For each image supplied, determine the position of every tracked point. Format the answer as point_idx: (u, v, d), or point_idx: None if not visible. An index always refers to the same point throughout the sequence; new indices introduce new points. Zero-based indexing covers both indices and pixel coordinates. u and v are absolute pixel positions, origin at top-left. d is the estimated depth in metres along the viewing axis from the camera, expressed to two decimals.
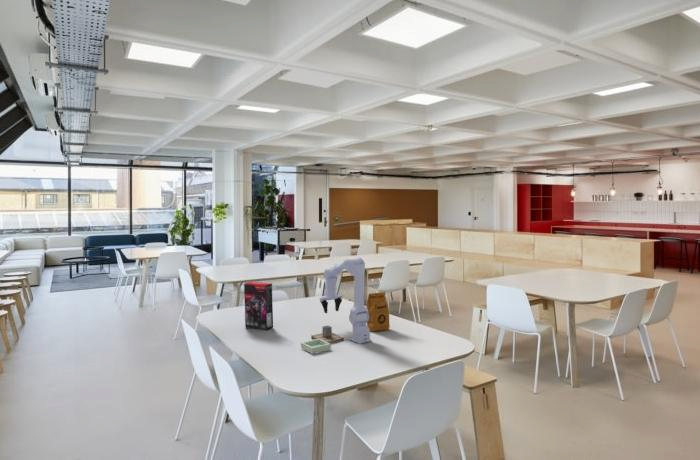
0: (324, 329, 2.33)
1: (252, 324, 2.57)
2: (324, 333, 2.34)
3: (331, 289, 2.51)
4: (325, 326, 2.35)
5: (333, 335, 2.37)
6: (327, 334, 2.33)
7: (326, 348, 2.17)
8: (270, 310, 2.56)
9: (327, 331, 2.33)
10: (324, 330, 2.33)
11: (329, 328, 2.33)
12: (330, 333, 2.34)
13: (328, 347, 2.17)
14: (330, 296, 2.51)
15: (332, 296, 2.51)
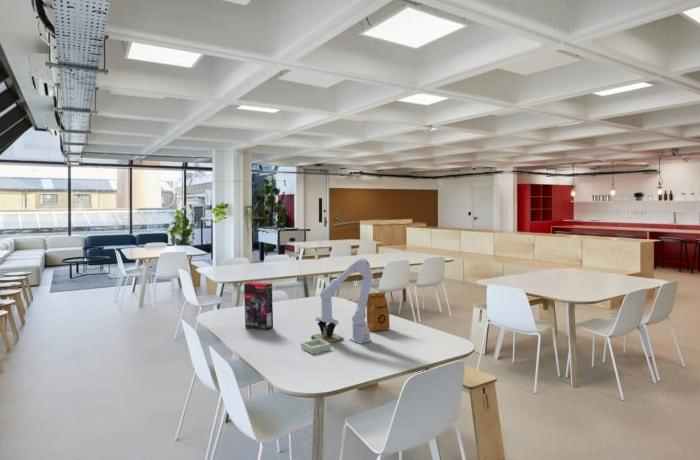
0: (324, 329, 2.33)
1: (252, 324, 2.57)
2: (324, 333, 2.34)
3: (330, 311, 2.32)
4: (325, 326, 2.35)
5: (333, 335, 2.37)
6: (327, 334, 2.33)
7: (326, 348, 2.17)
8: (270, 310, 2.56)
9: (327, 331, 2.33)
10: (324, 330, 2.33)
11: None
12: None
13: (328, 347, 2.17)
14: (321, 318, 2.34)
15: (322, 318, 2.33)
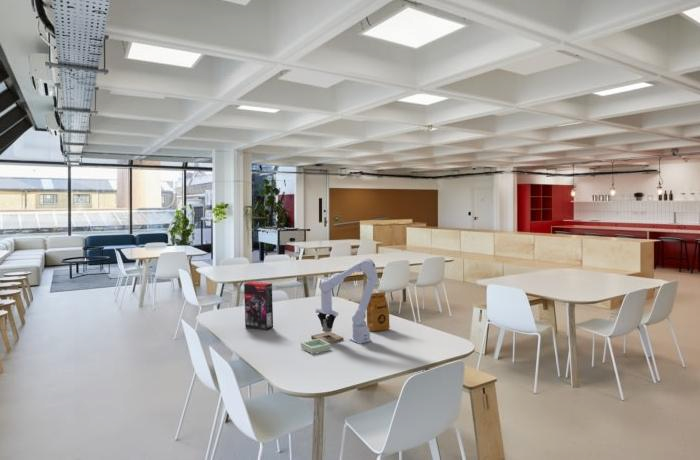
0: (324, 321, 2.33)
1: (252, 324, 2.57)
2: (324, 325, 2.33)
3: (330, 302, 2.32)
4: (325, 318, 2.35)
5: (333, 335, 2.37)
6: (327, 326, 2.32)
7: (326, 348, 2.17)
8: (270, 310, 2.56)
9: (327, 323, 2.32)
10: (324, 322, 2.33)
11: None
12: None
13: (328, 347, 2.17)
14: (321, 310, 2.33)
15: (322, 310, 2.32)
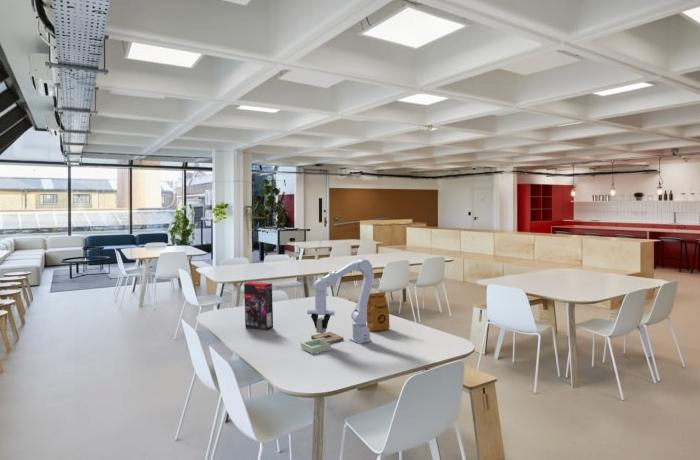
0: (319, 321, 2.25)
1: (252, 324, 2.57)
2: (319, 326, 2.25)
3: (325, 302, 2.25)
4: (319, 318, 2.26)
5: (333, 335, 2.37)
6: (322, 326, 2.25)
7: (326, 348, 2.17)
8: (270, 310, 2.56)
9: (322, 323, 2.25)
10: (319, 322, 2.25)
11: None
12: None
13: (328, 347, 2.17)
14: (316, 310, 2.24)
15: (317, 311, 2.24)
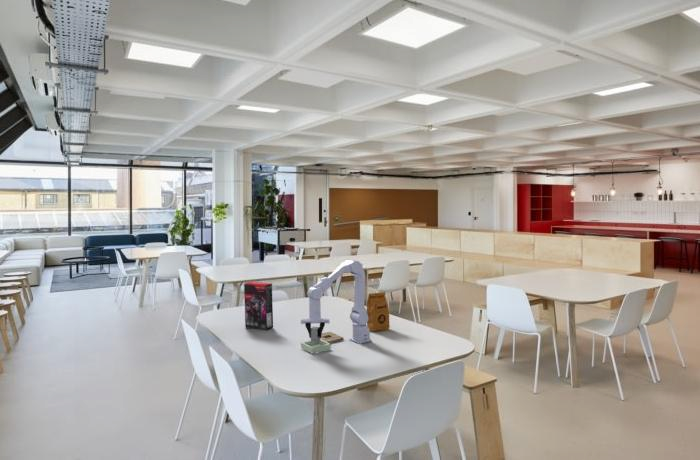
0: (315, 330, 2.17)
1: (252, 324, 2.57)
2: (314, 335, 2.17)
3: (320, 310, 2.18)
4: (313, 327, 2.19)
5: (333, 335, 2.37)
6: (318, 335, 2.17)
7: (326, 348, 2.17)
8: (270, 310, 2.56)
9: (318, 332, 2.18)
10: (315, 331, 2.17)
11: (318, 329, 2.19)
12: (319, 334, 2.19)
13: (328, 347, 2.17)
14: (311, 319, 2.16)
15: (313, 319, 2.16)
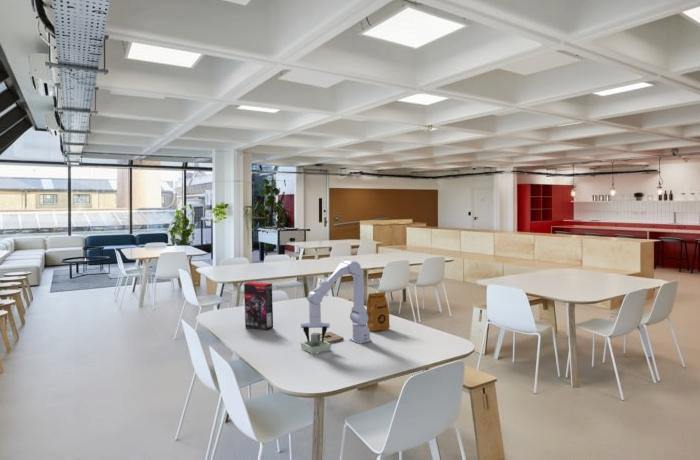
0: (315, 336, 2.17)
1: (252, 324, 2.57)
2: (314, 341, 2.17)
3: (320, 314, 2.19)
4: (313, 334, 2.19)
5: (333, 335, 2.37)
6: (318, 341, 2.18)
7: (326, 348, 2.17)
8: (270, 310, 2.56)
9: (318, 338, 2.18)
10: (315, 338, 2.17)
11: (319, 335, 2.19)
12: (319, 340, 2.20)
13: (328, 347, 2.17)
14: (311, 323, 2.16)
15: (313, 324, 2.16)
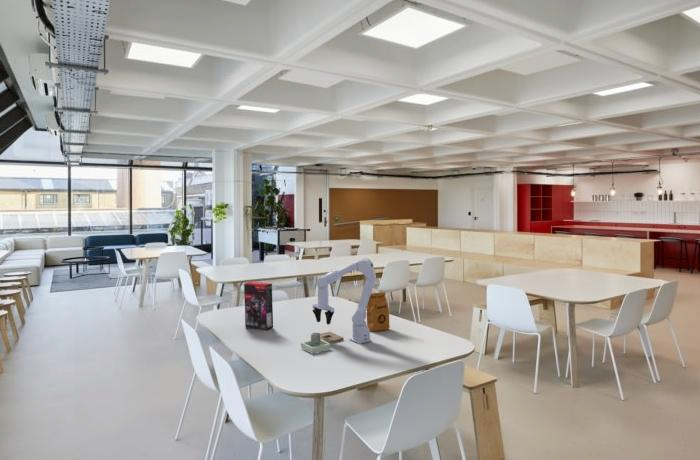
0: (315, 336, 2.17)
1: (252, 324, 2.57)
2: (314, 341, 2.17)
3: (326, 298, 2.33)
4: (313, 334, 2.19)
5: (333, 335, 2.37)
6: (318, 341, 2.18)
7: (326, 348, 2.17)
8: (270, 310, 2.56)
9: (318, 338, 2.18)
10: (315, 338, 2.17)
11: (319, 335, 2.19)
12: (319, 340, 2.20)
13: (328, 347, 2.17)
14: (318, 305, 2.35)
15: (318, 306, 2.34)
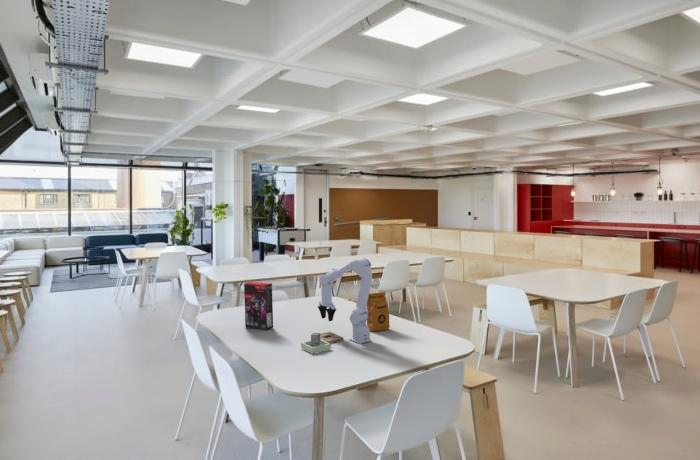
0: (315, 336, 2.17)
1: (252, 324, 2.57)
2: (314, 341, 2.17)
3: (328, 296, 2.41)
4: (313, 334, 2.19)
5: (333, 335, 2.37)
6: (318, 341, 2.18)
7: (326, 348, 2.17)
8: (270, 310, 2.56)
9: (318, 338, 2.18)
10: (315, 338, 2.17)
11: (319, 335, 2.19)
12: (319, 340, 2.20)
13: (328, 347, 2.17)
14: (321, 302, 2.44)
15: (321, 302, 2.42)
